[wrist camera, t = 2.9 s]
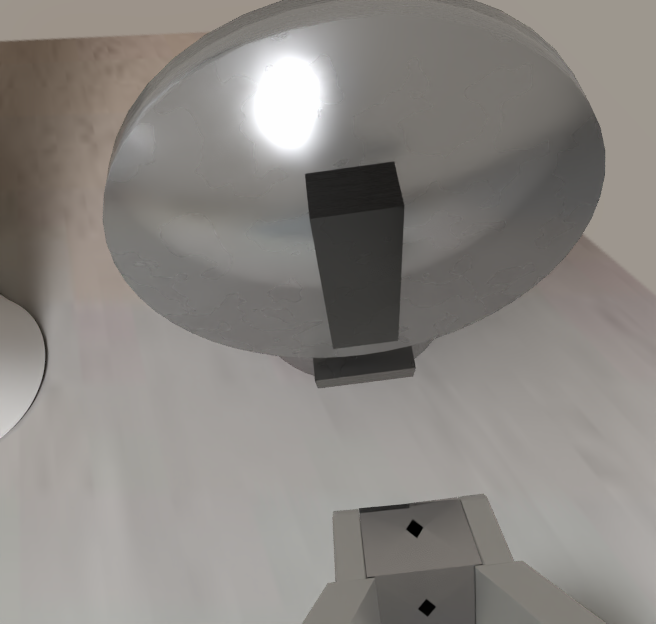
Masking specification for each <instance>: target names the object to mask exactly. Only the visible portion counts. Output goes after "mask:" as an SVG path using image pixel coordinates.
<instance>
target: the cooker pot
mask: <svg viewBox="0 0 656 624" xmlns="http://www.w3.org/2000/svg"><path fill="white" fill-rule="evenodd" d="M433 340H434V339H432V340H429V341H425V342H421V343H418V344H414V345H411V346H407V347H403V348H398V349H393V350H389V351H384V352H378V353H371V354H365V355H356V356H346V357H327V358H305V357H287V356H279V357H281V358H282V359H283V360H284V361H286V362H287V363H289V364H290V365H292V366H293V367H295V368H297V369H299V370H301V371H303V372H305V373H308V374H311V375H314V376H315V382H316V384H317V387H318V388H325V387H333V386H341V385H348V384H356V383H364V382H372V381H380V380H388V379H396V378H403V377H411V376H413V375H414V371H415V362H414V359H415V358H416V357H417V356H418V355H419V354H421V353H422V352H423V351H424V350H425V349H426V348H427V347H428V346H429V344H430V343H431V342H432V341H433Z"/></svg>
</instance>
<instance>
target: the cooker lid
mask: <svg viewBox="0 0 656 624" xmlns="http://www.w3.org/2000/svg"><path fill="white" fill-rule="evenodd" d="M604 176H605V148H604V143H603V138H602V133H601V128H600V126H599V123H598V121H597V119H596V117H595V114H594V112H593V110H592V108H591V106H590V104H589V102H588V100H587V98H586V96H585V95H584V92H583V91H582V89H581V87H580V85H579V83H578V81H577V80H576V78H575V76H574V74H573V73H572V71H571V70H570V68H569V67H568V66H567V64H566V63H565V62H564V60H563V59H562V58H561V57H560V55H559V54H558V53H557V51H556V50H555V49H554V48H553V47H551V46H550V45H549V44H548V43H547V42H546V41H545V40H544V39H543V38H542V37H540V36H539V35H538V34H537V33H536V32H535V31H534V30H532V29H531V28H530V27H528V26H526V25H524V24H523V23H521V22H520V21H518V20H516V19H514V18H513V17H511V16H509V15H508V14H506V13H504V12H503V11H501V10H498V9H496V8H493V7H490V6H488V5H485V4H483V3H480V2H477V1H474V0H282V1H279V2H276V3H274V4H271V5H268V6H265V7H263V8H260V9H257V10H254V11H252V12H249V13H246V14H244V15H242V16H240V17H238V18H236V19H234V20H232V21H231V22H229V23H227V24H225V25H223V26H221V27H219V28H217V29H215V30H213V31H211V32H210V33H208V34H206V35H205V36H203V37H202V38H200V39H199V40H198V41H196V42H195V43H194V44H192V45H191V46H189V47H188V48H187V49H185V50H184V51H183V52H181V53H180V54H178V55H177V56H176V57H174V58H173V59H172V60H171V61H170V62H169V63H168V64H167V65H166V66H165V67H164V68H163V69H162V70H161V71H160V72H159V73H158V74H157V75H156V76H155V77H154V78H153V79H152V80H151V81H150V82H149V83H148V84H147V86H146V87H145V88H144V90H143V91H142V93H141V94H140V95H139V97H138V98H137V100H136V101H135V102H134V104H133V105H132V107H131V108H130V110H129V111H128V113H127V115H126V117H125V119H124V122H123V124H122V126H121V128H120V130H119V132H118V134H117V136H116V139H115V143H114V147H113V151H112V155H111V159H110V163H109V168H108V174H107V180H106V186H105V192H104V204H103V225H104V231H105V237H106V243H107V245H108V248H109V250H110V253H111V256H112V258H113V261H114V263H115V265H116V267H117V268H118V270H119V271H120V273H121V275H122V276H123V278H124V280H125V281H126V282H127V284H128V285H129V286H130V287H131V288H132V289H133V290H134V292H135V293H136V294H137V295H138V296H139V297H140V298H141V299H142V300H143V301H144V302H145V303H147V304H148V305H149V306H150V307H151V308H152V309H153V310H155V311H156V312H157V313H159V314H160V315H162V316H163V317H165V318H166V319H168V320H169V321H171V322H172V323H174V324H176V325H178V326H180V327H182V328H184V329H185V330H187V331H189V332H191V333H193V334H196V335H198V336H201V337H203V338H206V339H208V340H211V341H213V342H217V343H220V344H223V345H226V346H230V347H233V348H237V349H242V350H246V351H251V352H256V353H262V354H269V355H275V356H287V357H305V358H327V357H346V356H356V355H365V354H371V353H378V352H384V351H389V350H393V349H398V348H403V347H407V346H411V345H414V344H418V343H421V342H425V341H429V340H432V339H435V338H437V337H440V336H443V335H446V334H449V333H452V332H454V331H456V330H459V329H461V328H463V327H466V326H468V325H471V324H473V323H475V322H477V321H479V320H481V319H483V318H485V317H487V316H489V315H491V314H493V313H494V312H496V311H498V310H499V309H501V308H503V307H505V306H506V305H508V304H510V303H511V302H513V301H514V300H516V299H517V298H519V297H520V296H521V295H523V294H524V293H526V292H527V291H528V290H530V289H531V288H533V287H534V286H535V285H536V284H537V283H538V282H540V281H541V280H542V279H543V278H544V277H546V276H547V275H548V274H549V273H550V272H551V271H552V270H553V269H554V268H555V267H556V266H557V265H558V264H559V263H560V262H561V261H562V260H563V259H564V258H565V257H566V255H567V254H568V253H569V252H570V250H571V249H572V248H573V246H574V245H575V244H576V242H577V241H578V240H579V239H580V237H581V235H582V234H583V232H584V230H585V228H586V227H587V225H588V223H589V222H590V220H591V218H592V216H593V213H594V210H595V208H596V206H597V203H598V201H599V198H600V195H601V190H602V186H603V181H604Z"/></svg>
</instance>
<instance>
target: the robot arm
mask: <svg viewBox="0 0 656 624" xmlns="http://www.w3.org/2000/svg"><path fill="white" fill-rule="evenodd" d="M44 366H45V346H44V340H43V337H42V334H41V331H40V329H39V327H38V325H37V323H36V321H35V320H34V319H33V317H32V316H31V315H30V314H29V313H28V312H27V311H26V310H25V309H24V308H22V307H21V306H19V305H18V304H16V303H14V302H12V301H10V300H8V299H6V298H5V297H3V296H2V295H1V294H0V438H1V437H3V436H4V435H5V434H6V433H7V432H8V431H10V430H11V429H12V428H13V427H14V426H15V424H16V423H17V422H18V421H19V420H20V419H21V418H22V416H23V415H24V414H25V412H26V411H27V410H28V408H29V406H30V405H31V403H32V401H33V400H34V398H35V396H36V393H37V391H38V389H39V386H40V383H41V380H42V376H43V372H44ZM359 513H360V516H359ZM333 539H334V560H335V581H336V582H333V583H328V584H327V585H326V587H325V589H324V590H323V592H322V593H321V595H320V596H319V598H318V600H317V601H316V603H315V604H314V606H313V607H312V609H311V611H310V612H309V614H308V615H307V617H306V618H305V620H304V622H303V623H302V624H607V623H605V622H604V621H603V620H601V619H600V618H599V617H597V616H596V615H594V614H593V613H592V612H590V611H589V610H588V609H586V608H585V607H584V606H582V605H581V604H580V603H578V602H577V601H576V600H574V599H573V598H572V597H570V596H569V595H568V594H566V593H565V592H564V591H562V590H561V589H560V588H558V587H557V586H556V585H554V584H553V583H552V582H550V581H549V580H547V579H546V578H545V577H543V576H542V575H541V574H539V573H538V572H537V571H535V570H534V569H533V568H531V567H530V566H529V565H527V564H526V563H525V562H523V561H515V562H514V559H513V557H512V555H511V552H510V550H509V548H508V545H507V543H506V541H505V538H504V536H503V534H502V531H501V529H500V526H499V524H498V522H497V519H496V517H495V515H494V512H493V510H492V508H491V505H490V503H489V501H488V498H487V497H486V496H485V495H484V494H478V495H470V496H462V497H458V498H457V497H456V498H448V499H440V500H432V501H424V502H416V503H409V504H402V505H391V506H380V507H369V508H359V510H358V509H355V510H343V511H333Z"/></svg>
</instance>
